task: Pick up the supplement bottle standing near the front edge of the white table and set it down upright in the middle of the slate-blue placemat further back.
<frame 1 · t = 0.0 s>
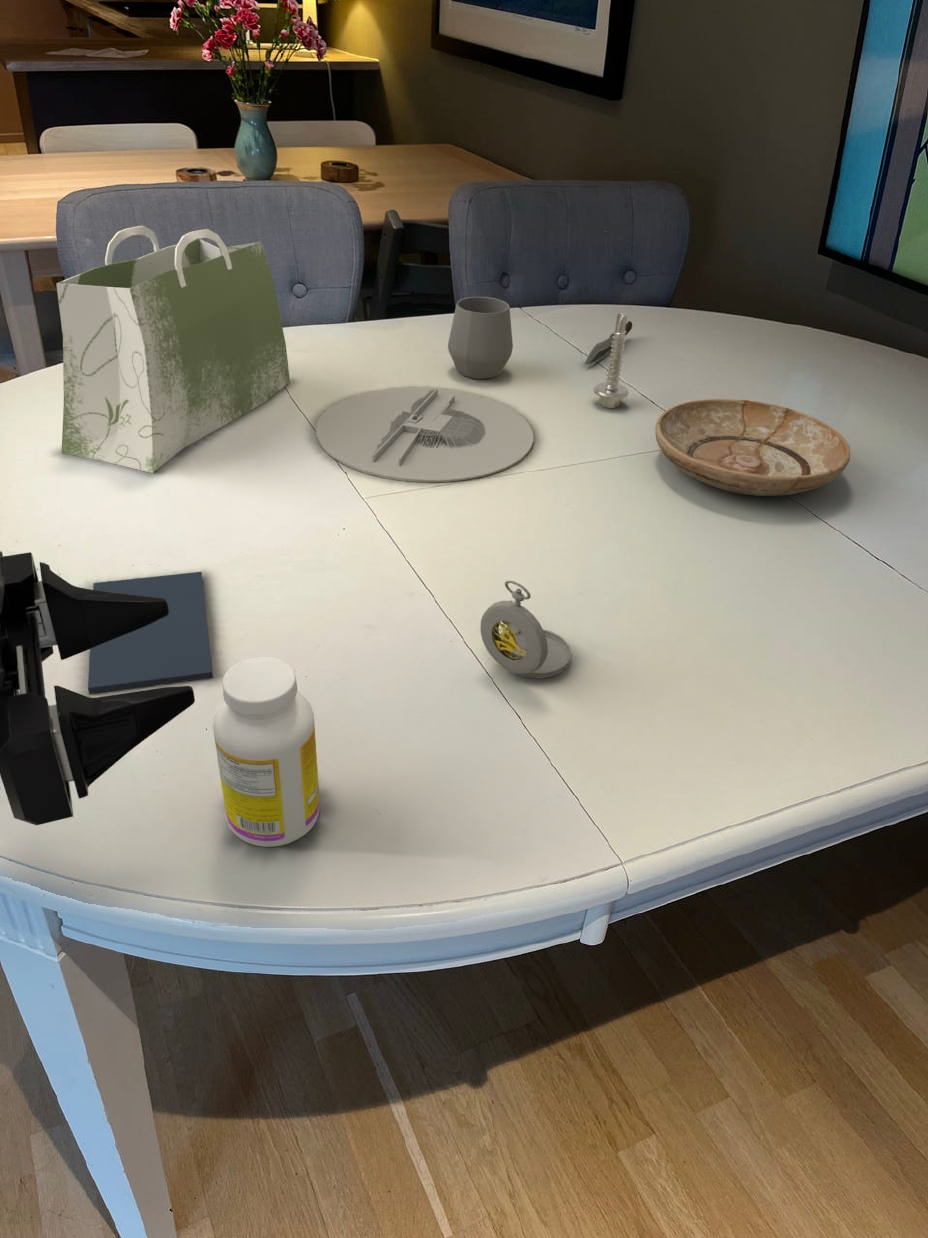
hand: (180, 647, 58), 16 cm above the table, tool horizontal, fingers open, 9 cm apart
grocery bag: (186, 415, 124), on the table
plate: (425, 433, 124), on the table
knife: (606, 354, 151), on the table
placemat: (150, 630, 86), on the table
supplement bottle: (273, 817, 69), on the table
ceramic bowl: (743, 471, 119), on the table
cup: (478, 373, 141), on the table
screw: (609, 405, 134), on the table
pocket watch: (523, 665, 85), on the table
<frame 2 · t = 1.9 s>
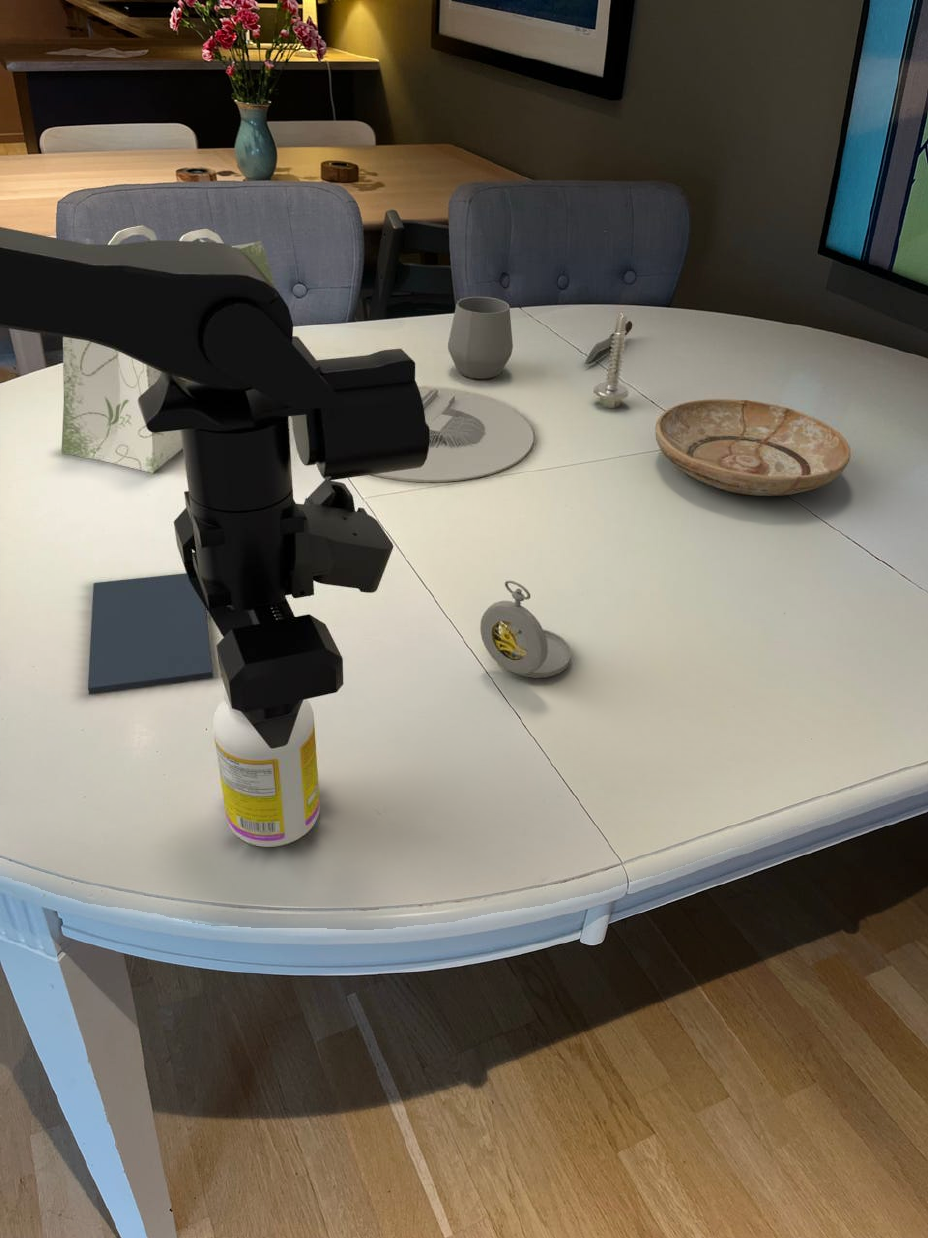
hand: (261, 700, 63), 11 cm above the table, tool pointing down, fingers open, 9 cm apart
nothing on the table moved.
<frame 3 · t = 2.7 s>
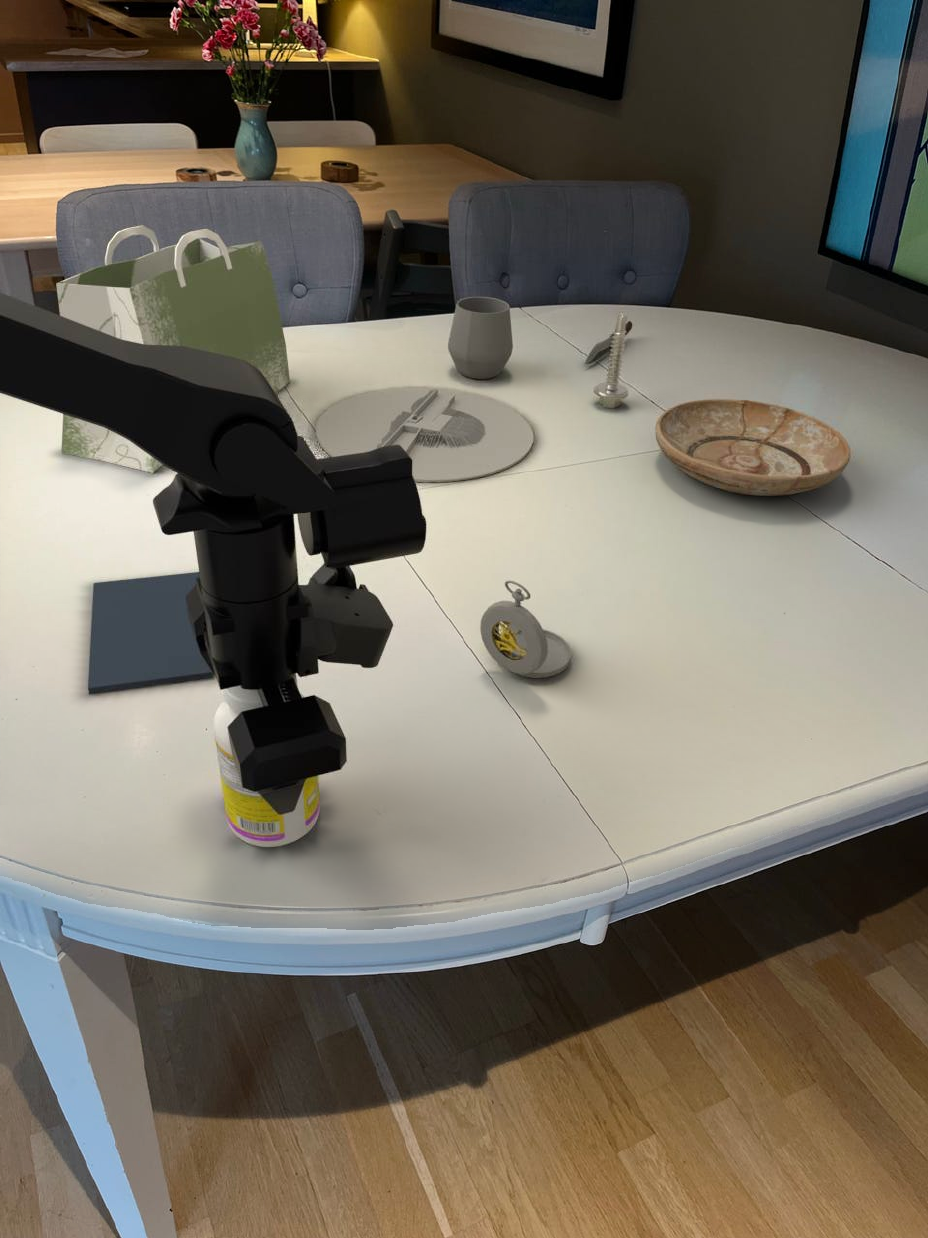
hand: (269, 765, 66), 5 cm above the table, tool pointing down
supplement bottle: (273, 818, 69), on the table, touching gripper
everything else where it was.
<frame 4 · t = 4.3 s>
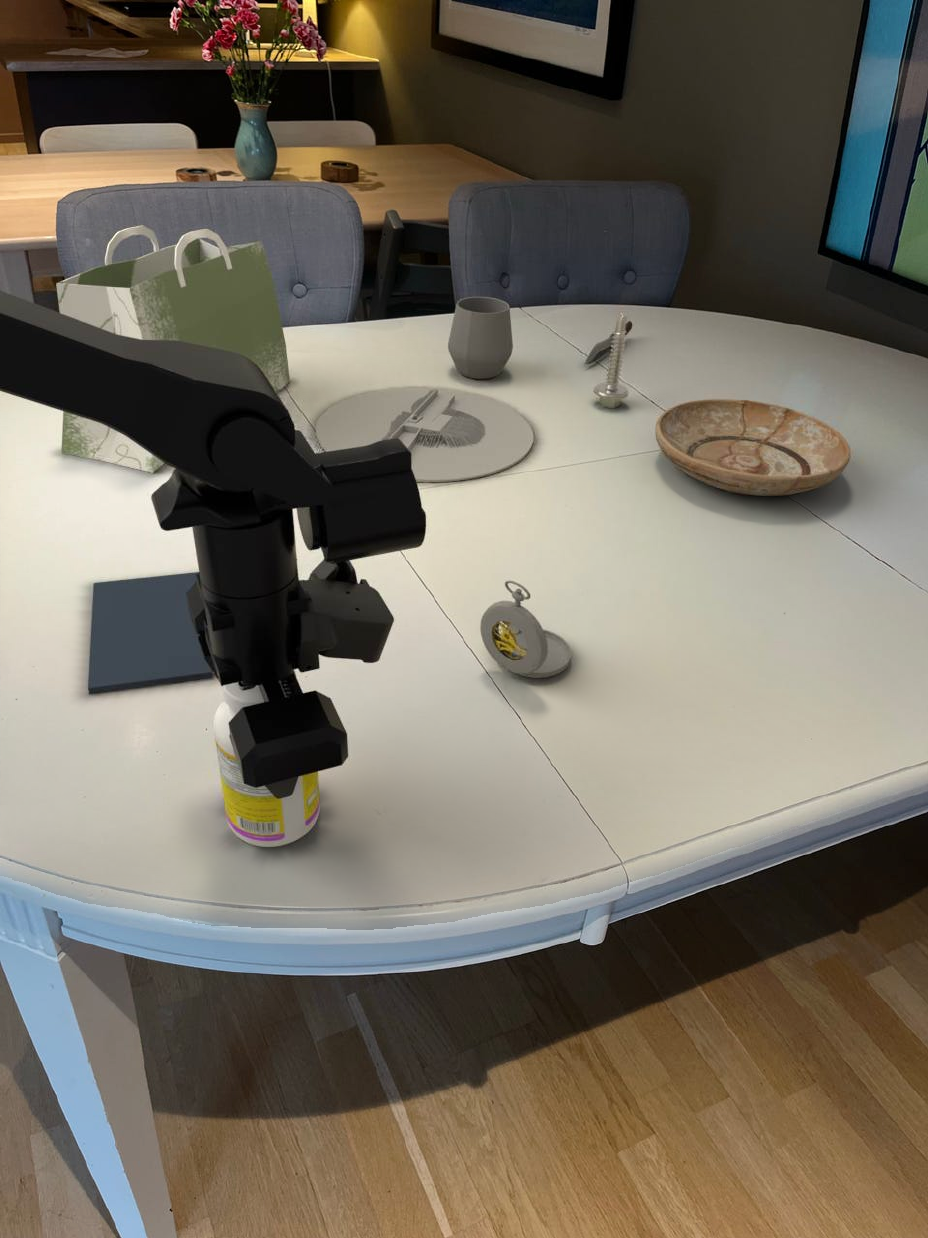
hand: (271, 761, 66), 5 cm above the table, tool pointing down, fingers closed on supplement bottle, 7 cm apart
supplement bottle: (273, 818, 69), on the table, touching gripper
everything else where it was.
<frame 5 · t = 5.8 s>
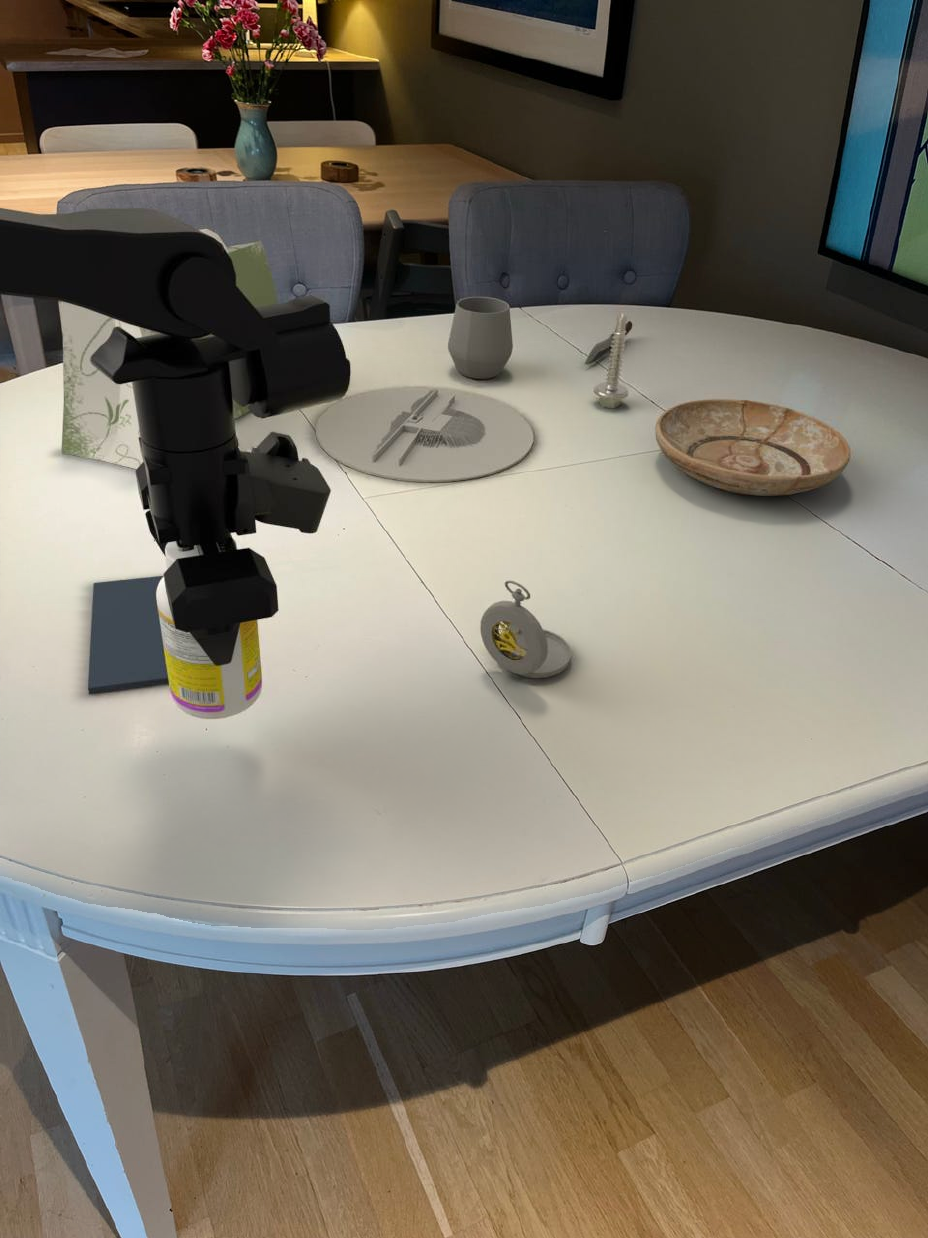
hand: (213, 635, 68), 11 cm above the table, tool pointing down, fingers closed on supplement bottle, 7 cm apart
supplement bottle: (217, 696, 71), point 5 cm above the table, touching gripper
everything else where it was.
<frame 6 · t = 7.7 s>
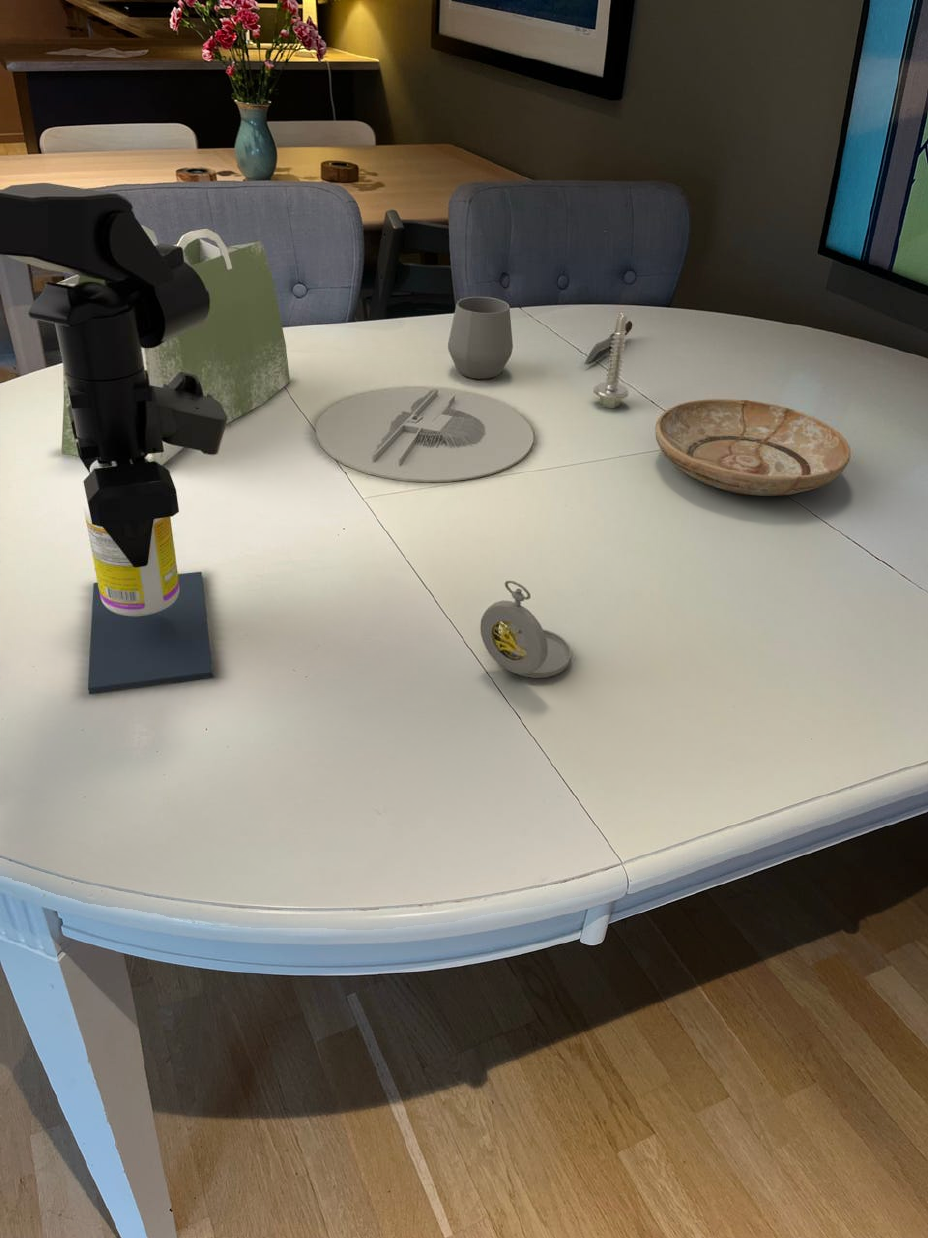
hand: (135, 545, 81), 9 cm above the table, tool pointing down, fingers closed on supplement bottle, 7 cm apart
supplement bottle: (141, 600, 84), point 3 cm above the table, touching gripper
everything else where it was.
when the fingers open (6 cm above the table, at t = 8.9 s): supplement bottle stays where it is, resting on placemat.
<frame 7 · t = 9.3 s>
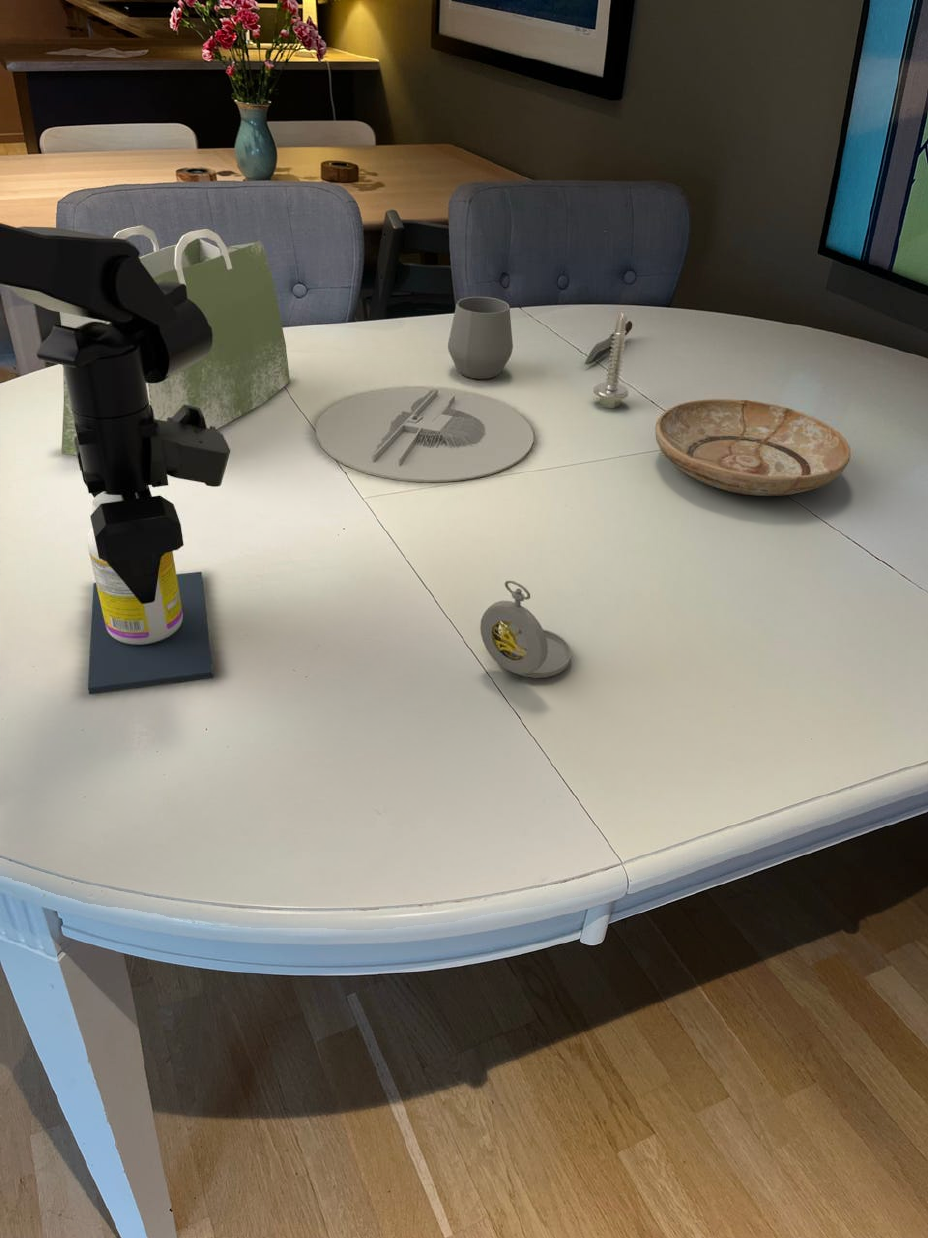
hand: (140, 573, 83), 6 cm above the table, tool pointing down, fingers open, 9 cm apart
supplement bottle: (145, 627, 86), resting on placemat
everything else where it was.
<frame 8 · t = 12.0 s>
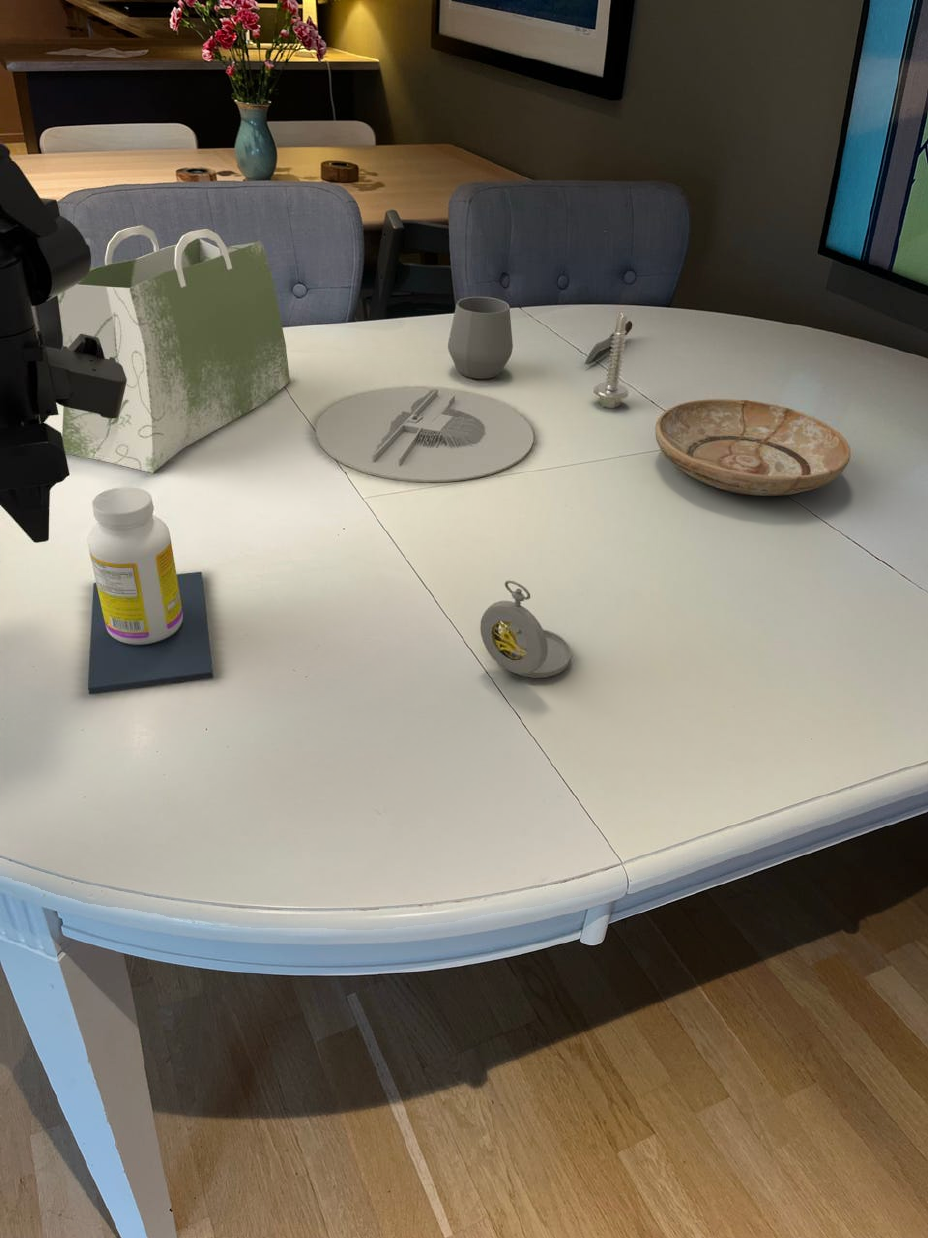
hand: (38, 513, 79), 12 cm above the table, tool pointing down, fingers open, 9 cm apart
nothing on the table moved.
at the end: supplement bottle inside the target area on the placemat (0.4 cm from its centre), point 0.4 cm above the placemat's base; supplement bottle tilted 0°; the gripper is holding nothing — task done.
